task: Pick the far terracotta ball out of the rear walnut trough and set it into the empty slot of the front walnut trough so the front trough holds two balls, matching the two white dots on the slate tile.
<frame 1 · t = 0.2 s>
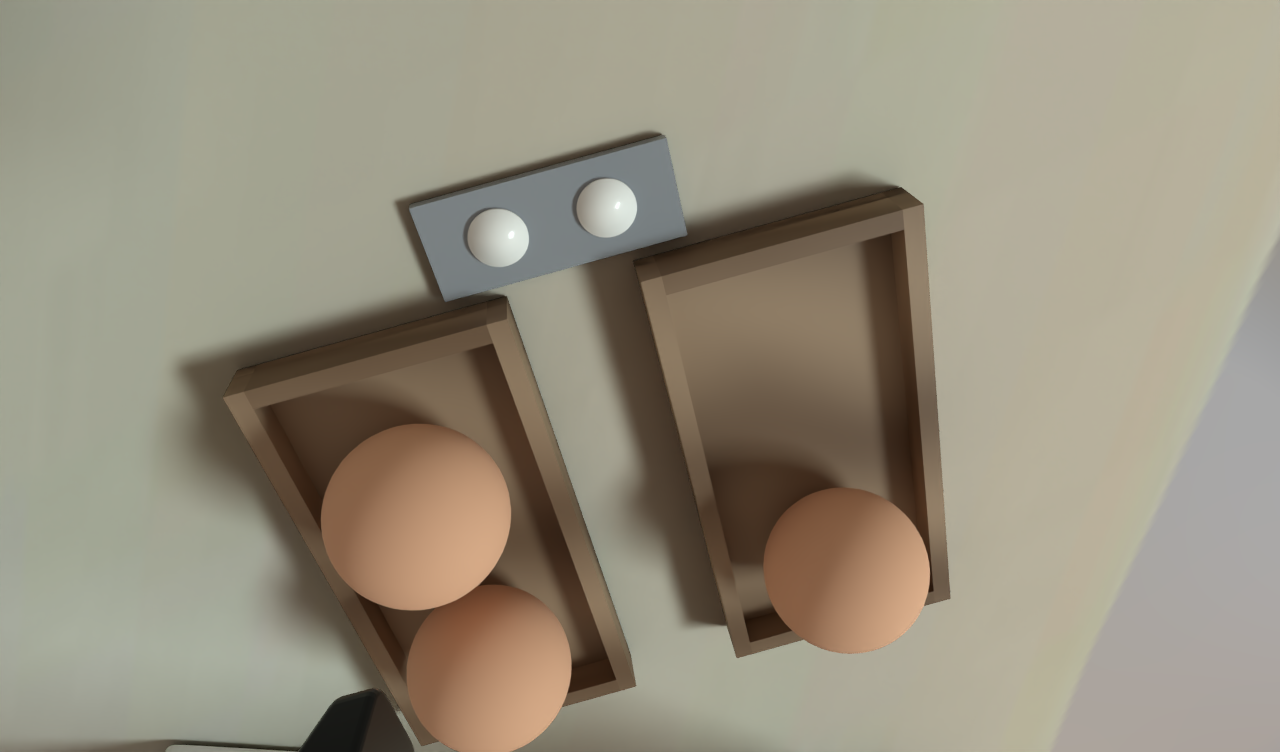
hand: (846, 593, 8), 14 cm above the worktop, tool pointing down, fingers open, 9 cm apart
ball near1: (844, 568, 24), point 3 cm above the worktop, touching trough
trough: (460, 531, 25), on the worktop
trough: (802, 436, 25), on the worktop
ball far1: (490, 667, 24), point 3 cm above the worktop, touching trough
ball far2: (418, 515, 21), point 3 cm above the worktop, touching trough
target card: (551, 218, 21), on the worktop
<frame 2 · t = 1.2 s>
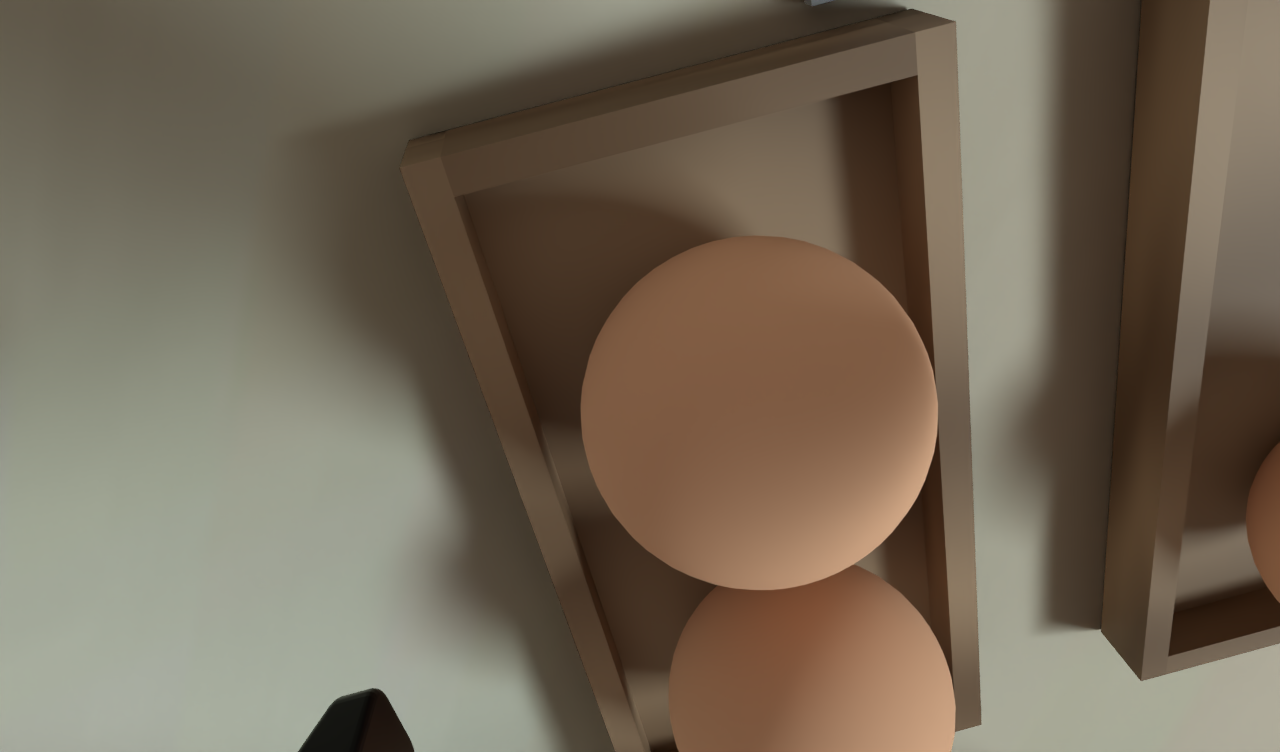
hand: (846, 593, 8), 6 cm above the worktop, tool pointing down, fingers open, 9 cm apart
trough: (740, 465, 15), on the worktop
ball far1: (807, 696, 14), point 3 cm above the worktop, touching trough
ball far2: (754, 411, 11), point 3 cm above the worktop, touching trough
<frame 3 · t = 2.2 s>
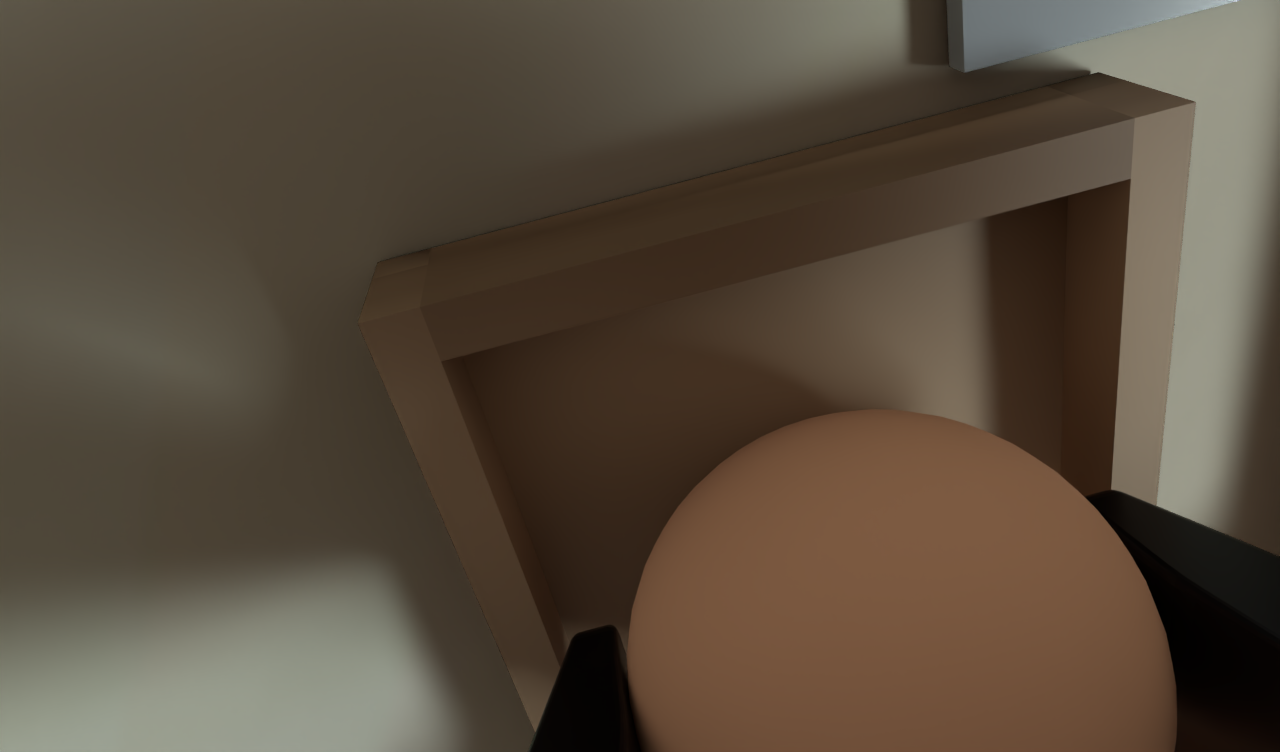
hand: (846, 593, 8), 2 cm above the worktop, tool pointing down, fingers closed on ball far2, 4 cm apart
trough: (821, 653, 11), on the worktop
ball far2: (880, 662, 8), point 3 cm above the worktop, touching gripper, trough
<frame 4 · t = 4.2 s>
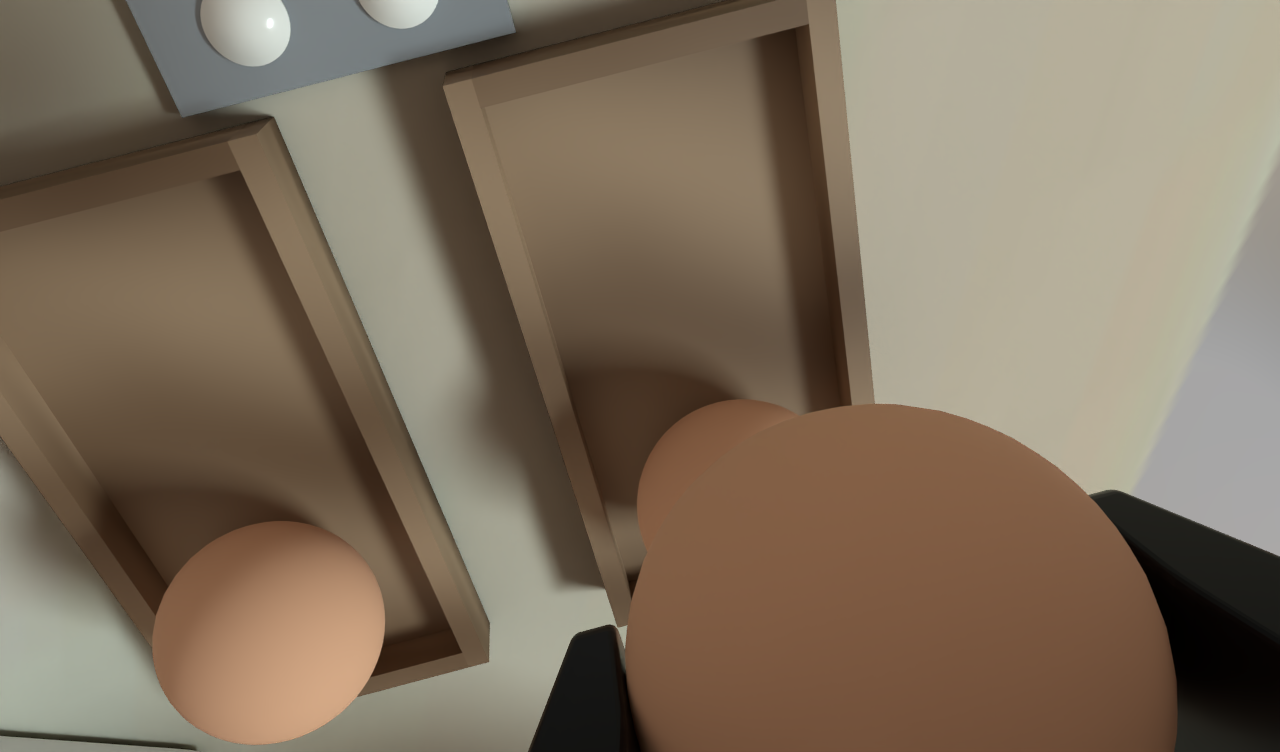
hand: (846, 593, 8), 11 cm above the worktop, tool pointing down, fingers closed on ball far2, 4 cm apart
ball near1: (742, 505, 18), point 3 cm above the worktop, touching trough
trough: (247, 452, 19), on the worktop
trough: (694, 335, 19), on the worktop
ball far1: (274, 629, 18), point 3 cm above the worktop, touching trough
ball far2: (879, 658, 8), point 12 cm above the worktop, touching gripper
target card: (325, 0, 15), on the worktop
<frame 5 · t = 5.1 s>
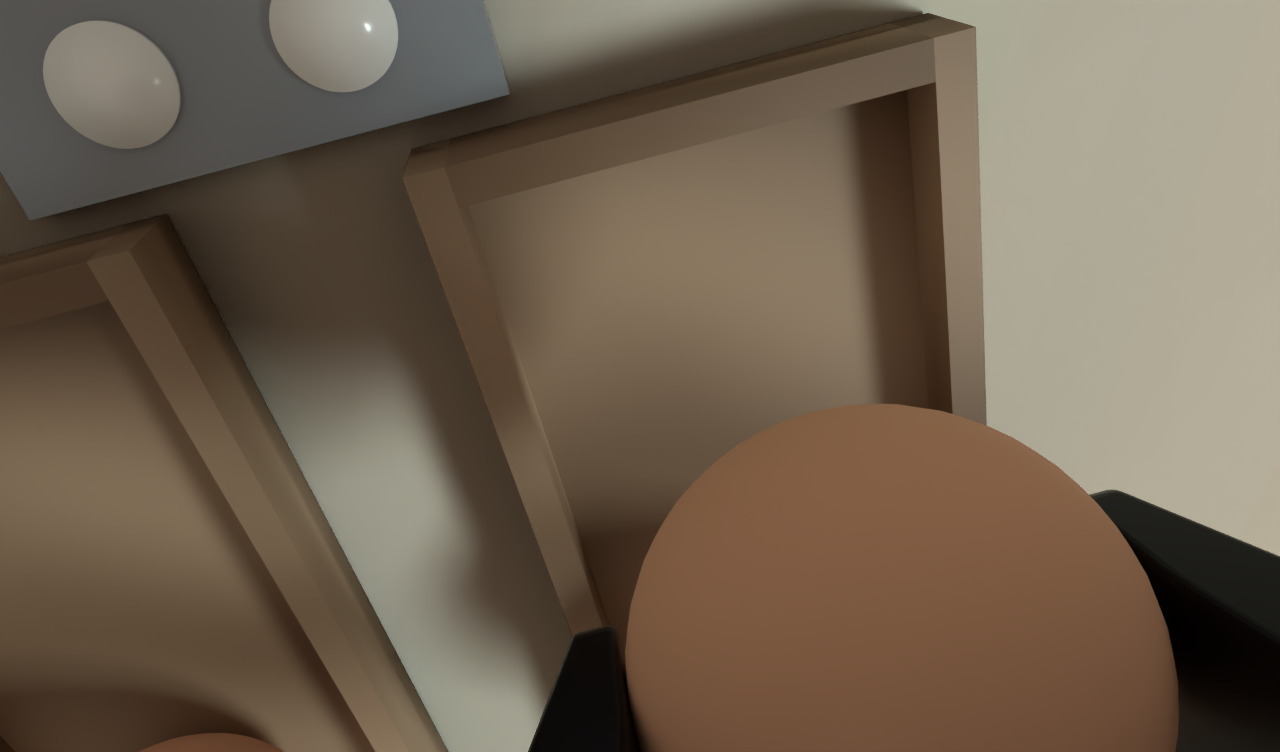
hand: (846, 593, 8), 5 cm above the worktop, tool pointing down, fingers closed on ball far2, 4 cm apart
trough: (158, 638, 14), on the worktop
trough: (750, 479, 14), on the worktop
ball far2: (880, 658, 8), point 6 cm above the worktop, touching gripper
target card: (232, 52, 10), on the worktop
when the fingers open (3 cm above the worktop, at t = 6.0 s): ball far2 drops 1 cm, resting on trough.
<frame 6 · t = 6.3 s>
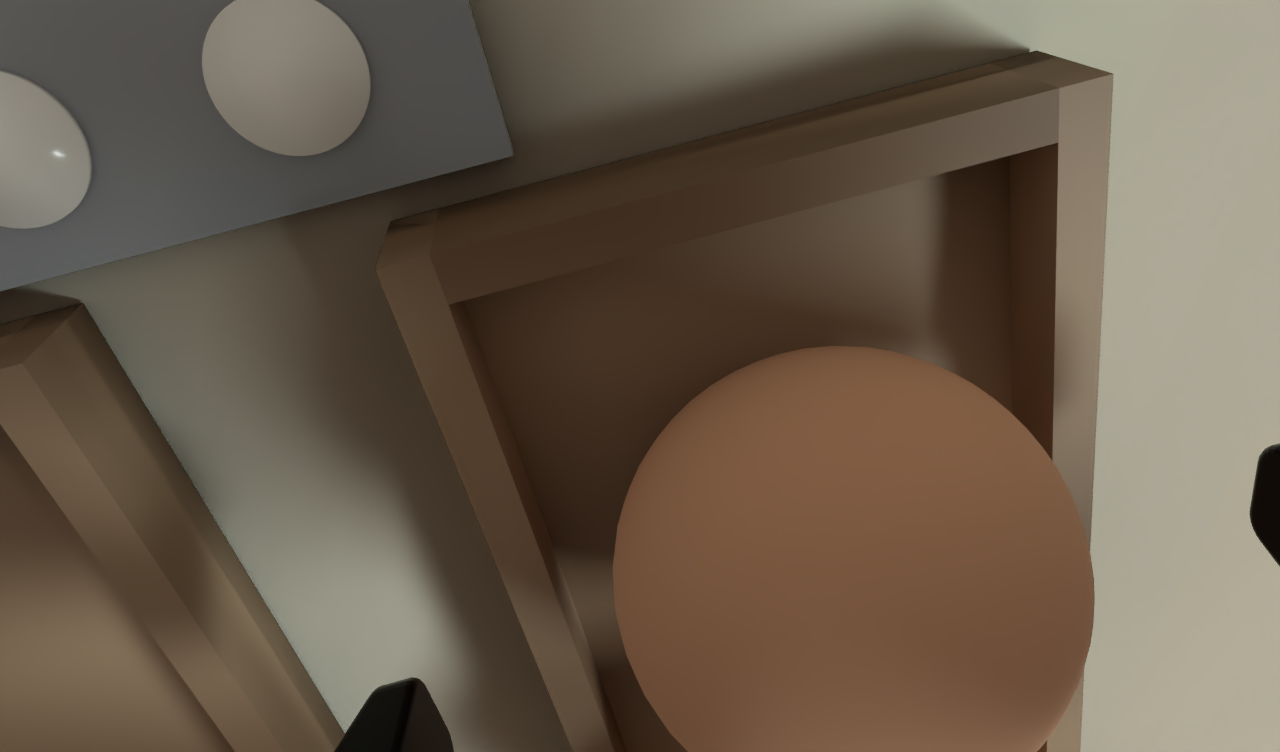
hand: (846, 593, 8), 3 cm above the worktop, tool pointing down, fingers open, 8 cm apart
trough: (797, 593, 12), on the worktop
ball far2: (839, 572, 9), point 3 cm above the worktop, touching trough
target card: (159, 104, 8), on the worktop
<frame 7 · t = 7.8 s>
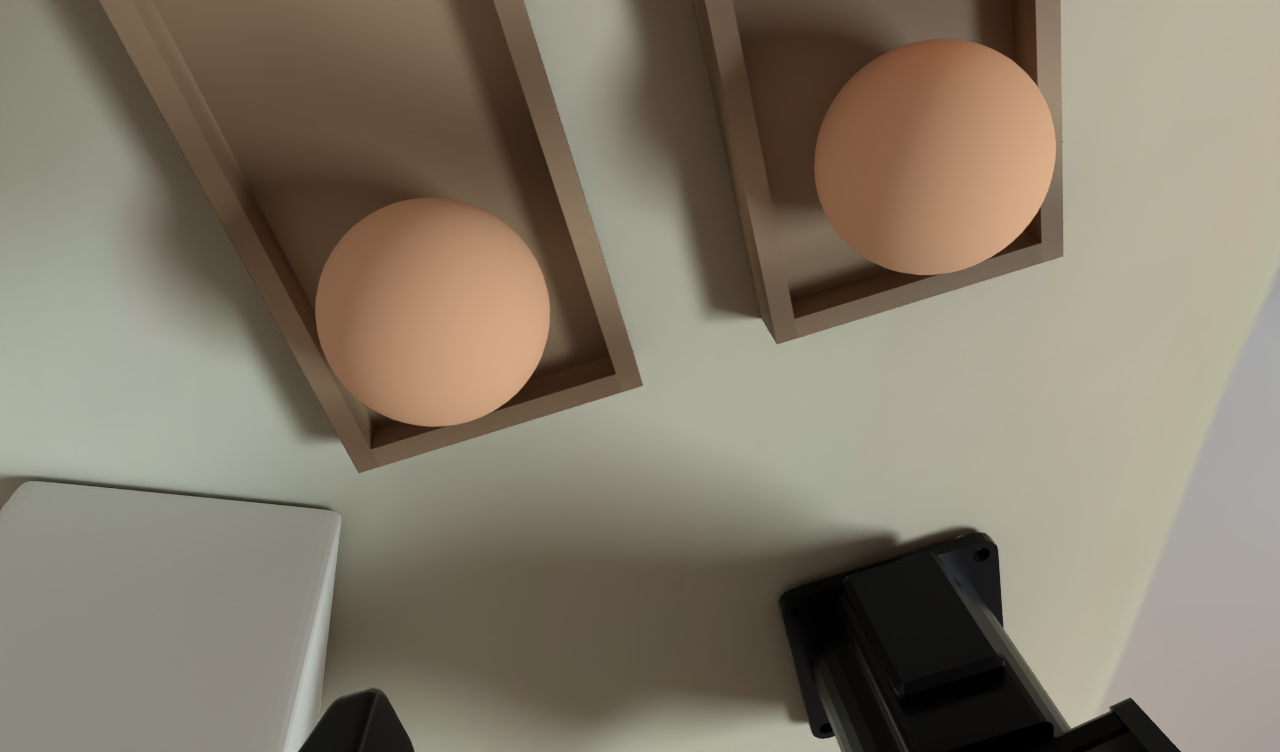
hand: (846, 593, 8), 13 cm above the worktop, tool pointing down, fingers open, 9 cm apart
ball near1: (930, 160, 17), point 3 cm above the worktop, touching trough
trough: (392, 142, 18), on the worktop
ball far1: (436, 313, 17), point 3 cm above the worktop, touching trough
milk carton: (191, 595, 23), on the worktop
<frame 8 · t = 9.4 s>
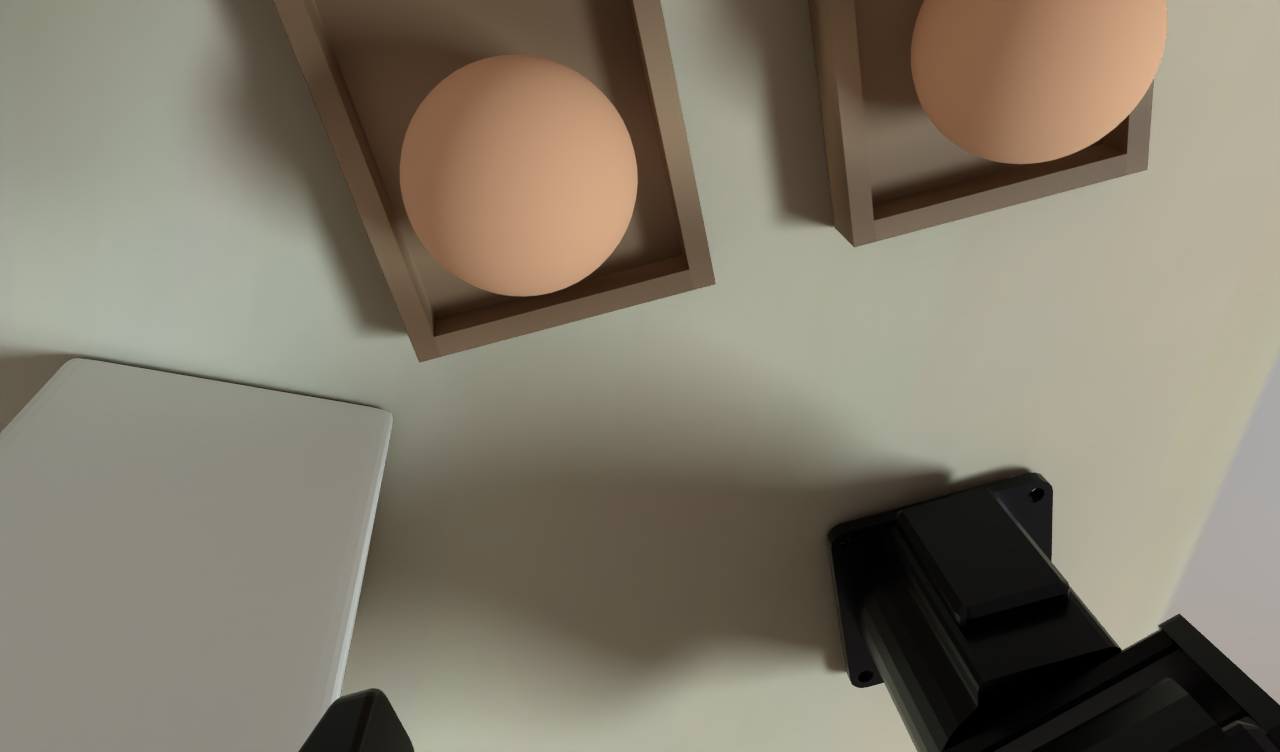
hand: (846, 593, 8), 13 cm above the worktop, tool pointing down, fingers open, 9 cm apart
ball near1: (1032, 44, 17), point 3 cm above the worktop, touching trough
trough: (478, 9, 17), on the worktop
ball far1: (520, 179, 17), point 3 cm above the worktop, touching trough
milk carton: (230, 496, 22), on the worktop
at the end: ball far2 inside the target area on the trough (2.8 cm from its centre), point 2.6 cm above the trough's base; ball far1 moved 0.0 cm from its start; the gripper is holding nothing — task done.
